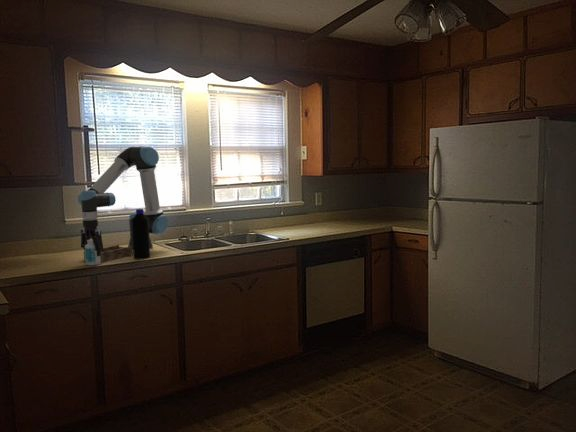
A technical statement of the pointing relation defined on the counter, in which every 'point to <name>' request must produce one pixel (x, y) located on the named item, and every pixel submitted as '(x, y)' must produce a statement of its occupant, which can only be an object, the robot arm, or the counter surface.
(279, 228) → the counter surface
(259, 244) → the counter surface
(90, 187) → the robot arm
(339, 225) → the counter surface
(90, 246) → the pill bottle
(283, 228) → the counter surface
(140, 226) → the bottle
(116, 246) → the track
